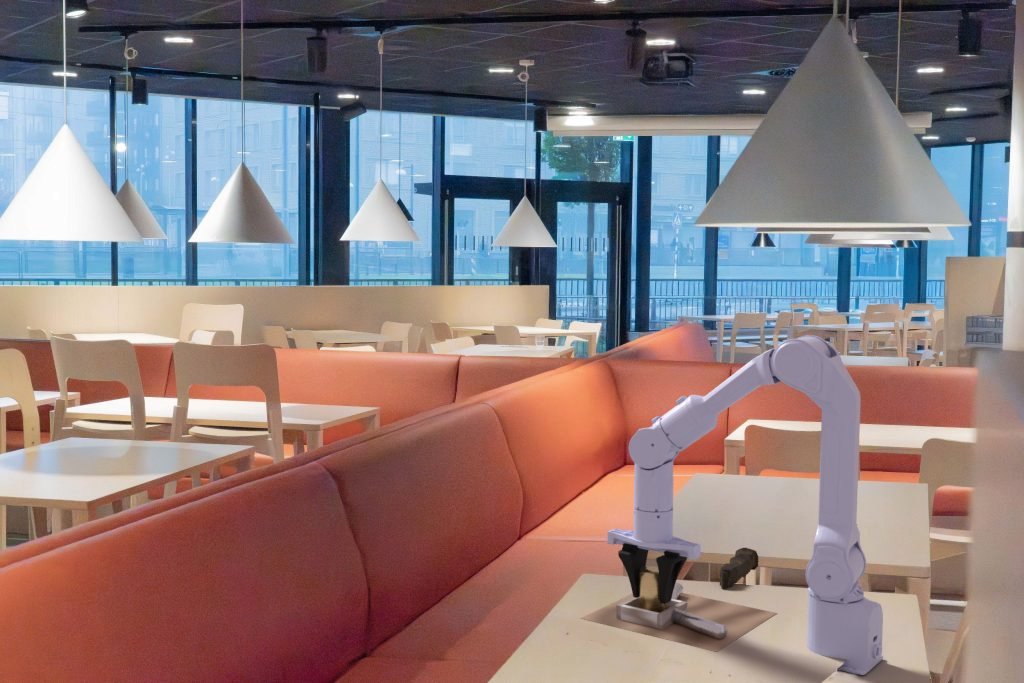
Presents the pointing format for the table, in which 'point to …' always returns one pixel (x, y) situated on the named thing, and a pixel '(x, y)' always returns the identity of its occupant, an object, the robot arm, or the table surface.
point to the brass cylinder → (650, 590)
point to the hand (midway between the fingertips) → (652, 598)
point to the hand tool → (738, 567)
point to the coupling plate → (661, 625)
